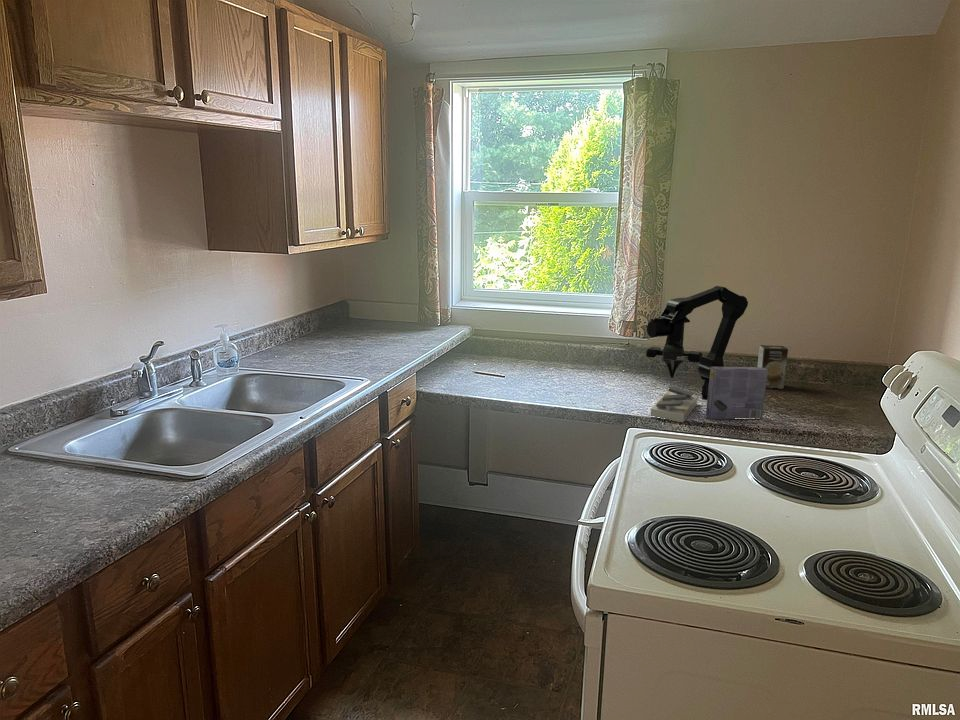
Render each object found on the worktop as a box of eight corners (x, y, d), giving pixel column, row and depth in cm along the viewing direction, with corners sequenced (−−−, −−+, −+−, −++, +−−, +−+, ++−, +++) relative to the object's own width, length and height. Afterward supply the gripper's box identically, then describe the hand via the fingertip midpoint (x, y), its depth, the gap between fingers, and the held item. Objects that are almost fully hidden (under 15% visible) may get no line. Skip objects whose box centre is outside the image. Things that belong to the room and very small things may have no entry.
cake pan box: (759, 415, 236) (765, 365, 232) (766, 420, 231) (771, 369, 227) (704, 415, 236) (709, 365, 231) (709, 420, 231) (714, 369, 226)
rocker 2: (683, 403, 233) (682, 400, 233) (680, 406, 229) (680, 403, 229) (659, 404, 237) (659, 401, 237) (656, 407, 233) (656, 404, 233)
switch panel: (696, 404, 248) (697, 392, 247) (683, 422, 228) (684, 409, 227) (666, 399, 253) (667, 388, 252) (650, 417, 233) (651, 404, 232)
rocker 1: (688, 396, 240) (687, 394, 239) (685, 399, 236) (685, 397, 236) (665, 398, 244) (664, 395, 243) (662, 401, 240) (662, 398, 240)
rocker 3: (692, 395, 247) (693, 392, 246) (690, 398, 243) (690, 395, 243) (670, 388, 250) (671, 385, 250) (668, 391, 247) (668, 388, 246)
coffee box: (759, 388, 268) (763, 348, 264) (754, 383, 275) (758, 344, 271) (783, 389, 267) (788, 349, 264) (778, 384, 274) (783, 345, 270)
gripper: (643, 336, 241) (640, 379, 244) (697, 342, 232) (694, 386, 236) (651, 331, 250) (648, 372, 254) (704, 336, 242) (700, 378, 245)
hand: (672, 377), depth 247 cm, fingers closed
